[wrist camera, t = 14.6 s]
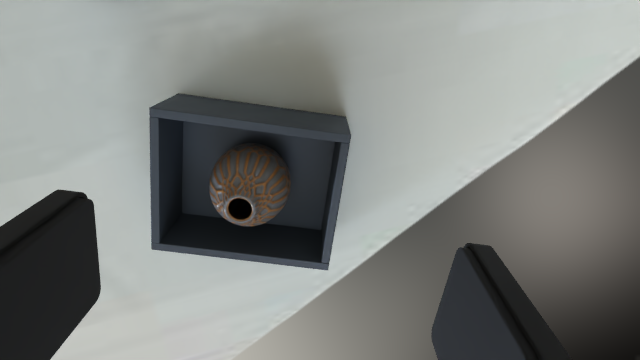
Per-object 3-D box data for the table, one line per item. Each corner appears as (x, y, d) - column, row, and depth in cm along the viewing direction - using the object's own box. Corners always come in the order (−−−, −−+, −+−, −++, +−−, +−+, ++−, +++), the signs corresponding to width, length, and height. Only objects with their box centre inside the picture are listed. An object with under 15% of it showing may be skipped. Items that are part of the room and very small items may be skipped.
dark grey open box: (178, 93, 36) (149, 107, 30) (346, 116, 37) (351, 135, 31) (176, 215, 41) (151, 249, 35) (326, 234, 41) (327, 270, 35)
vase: (283, 128, 37) (273, 158, 29) (300, 195, 39) (294, 241, 31) (211, 142, 37) (180, 176, 29) (232, 208, 40) (209, 256, 32)
